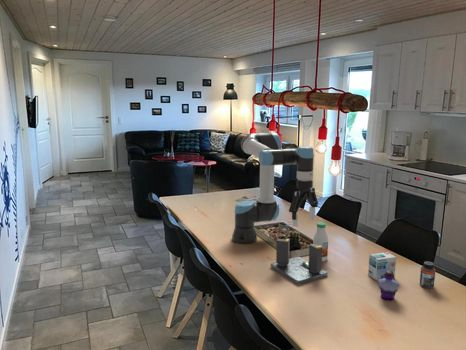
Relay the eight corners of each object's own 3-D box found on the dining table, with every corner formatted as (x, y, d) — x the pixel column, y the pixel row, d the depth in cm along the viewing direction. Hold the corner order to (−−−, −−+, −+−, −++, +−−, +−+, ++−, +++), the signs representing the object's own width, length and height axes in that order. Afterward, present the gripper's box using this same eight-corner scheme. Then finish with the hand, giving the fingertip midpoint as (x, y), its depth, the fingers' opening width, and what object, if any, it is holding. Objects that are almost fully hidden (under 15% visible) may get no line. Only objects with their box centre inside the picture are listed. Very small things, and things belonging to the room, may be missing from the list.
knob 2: (306, 270, 190) (307, 243, 187) (314, 267, 192) (315, 242, 189) (315, 274, 184) (316, 247, 182) (322, 272, 187) (324, 246, 184)
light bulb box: (375, 280, 182) (377, 259, 180) (367, 274, 189) (368, 254, 187) (395, 278, 185) (397, 256, 183) (386, 272, 192) (387, 251, 189)
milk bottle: (316, 262, 202) (318, 226, 198) (310, 257, 210) (311, 221, 206) (330, 261, 204) (331, 225, 200) (322, 255, 212) (324, 220, 208)
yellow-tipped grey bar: (275, 265, 195) (276, 240, 192) (278, 261, 199) (278, 236, 196) (287, 267, 193) (288, 241, 190) (289, 263, 197) (290, 238, 194)
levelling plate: (270, 267, 197) (270, 260, 197) (298, 259, 206) (298, 253, 205) (298, 285, 179) (298, 277, 178) (327, 276, 187) (327, 268, 187)
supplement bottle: (421, 281, 181) (423, 259, 179) (435, 285, 178) (437, 262, 175) (417, 286, 177) (420, 263, 175) (432, 290, 173) (434, 266, 171)
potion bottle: (380, 290, 173) (382, 265, 171) (400, 296, 168) (403, 270, 166) (373, 298, 167) (375, 272, 164) (394, 304, 162) (396, 278, 159)
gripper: (294, 184, 171) (294, 230, 174) (326, 176, 188) (324, 219, 192) (281, 182, 176) (281, 227, 180) (313, 175, 193) (312, 216, 197)
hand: (303, 222), depth 186 cm, fingers open, 13 cm apart
